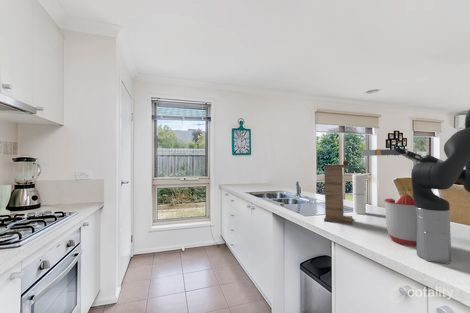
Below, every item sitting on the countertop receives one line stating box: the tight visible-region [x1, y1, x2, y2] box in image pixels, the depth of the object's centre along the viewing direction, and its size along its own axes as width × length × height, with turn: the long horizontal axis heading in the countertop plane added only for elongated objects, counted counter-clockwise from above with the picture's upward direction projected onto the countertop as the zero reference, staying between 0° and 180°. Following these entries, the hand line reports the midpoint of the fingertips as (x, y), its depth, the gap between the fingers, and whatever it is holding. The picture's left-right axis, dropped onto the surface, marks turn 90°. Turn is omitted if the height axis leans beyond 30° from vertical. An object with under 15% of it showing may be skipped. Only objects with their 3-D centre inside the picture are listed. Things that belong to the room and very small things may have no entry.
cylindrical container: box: [351, 173, 367, 215], centre depth 149 cm, size 7×7×25 cm
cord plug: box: [361, 148, 408, 157], centre depth 122 cm, size 20×5×3 cm, turn 62°
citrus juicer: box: [384, 193, 417, 247], centre depth 97 cm, size 16×17×20 cm
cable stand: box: [323, 160, 353, 225], centre depth 132 cm, size 13×14×34 cm
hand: (396, 149), depth 119 cm, fingers closed on cord plug, 3 cm apart
